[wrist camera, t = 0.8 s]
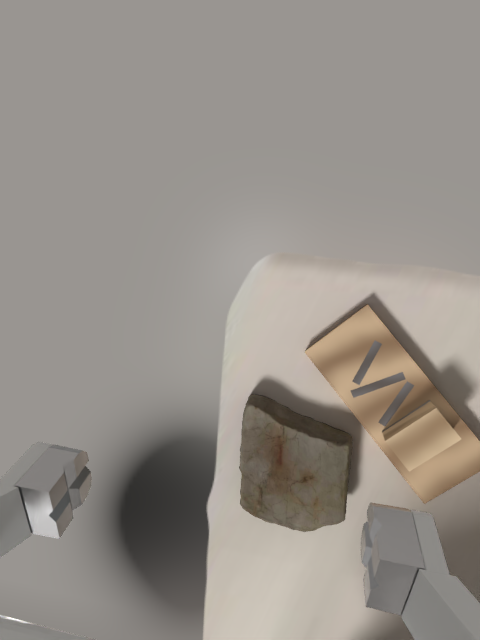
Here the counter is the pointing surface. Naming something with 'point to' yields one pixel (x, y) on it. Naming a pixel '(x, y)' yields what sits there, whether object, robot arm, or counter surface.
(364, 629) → the counter surface
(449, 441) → the block
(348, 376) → the board
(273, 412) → the marble piece
